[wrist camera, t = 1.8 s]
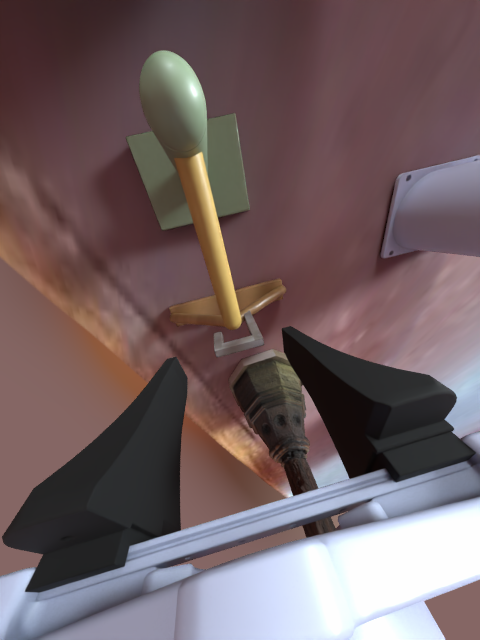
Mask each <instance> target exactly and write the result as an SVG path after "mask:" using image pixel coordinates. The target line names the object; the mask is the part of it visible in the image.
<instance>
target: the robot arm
mask: <svg viewBox="0 0 480 640" xmlns="http://www.w3.org/2000/svg"><path fill="white" fill-rule="evenodd" d="M406 178H407V180H406ZM416 250H425V251H434V252H442V253H450V254H459V255H467V256H476V257H480V155H477V156H473V157H469V158H465V159H461V160H457V161H452V162H448V163H444V164H440V165H436V166H431V167H427V168H423V169H419V170H415V171H411V172H406V173H402V174H400V175H399V176H398V177H397V179H396V182H395V187H394V192H393V197H392V202H391V207H390V211H389V216H388V221H387V226H386V231H385V236H384V241H383V246H382V251H381V257H382V258H389V257H393V256H397V255H401V254H404V253H408V252H412V251H416ZM389 253H390V254H389ZM282 336H283V346H284V353H285V355H286V357H287V359H288V361H289V363H290V365H291V367H292V368H293V370H294V371H295V373H296V374H297V376H298V378H299V379H300V381H301V382H302V384H303V385H304V387H305V388H306V390H307V391H308V393H309V395H310V397H311V398H312V400H313V402H314V404H315V406H316V408H317V410H318V412H319V414H320V416H321V418H322V420H323V422H324V424H325V426H326V428H327V430H328V432H329V434H330V436H331V438H332V440H333V443H334V445H335V447H336V449H337V451H338V453H339V456H340V458H341V460H342V462H343V464H344V467H345V469H346V471H347V473H348V476H349V478H350V479H348V480H345V481H341V482H338V483H335V484H331V485H328V486H325V487H322V488H318V489H315V490H312V491H308V492H305V493H302V494H299V495H295V496H292V497H289V498H286V499H282V500H279V501H276V502H272V503H269V504H266V505H263V506H259V507H256V508H253V509H250V510H246V511H243V512H240V513H236V514H233V515H230V516H227V517H223V518H220V519H217V520H213V521H210V522H207V523H203V524H200V525H197V526H194V527H190V528H187V529H184V530H181V526H180V525H181V524H180V452H181V434H182V425H183V419H184V412H185V405H186V398H187V376H186V374H185V372H184V370H183V368H182V367H181V365H180V363H179V361H178V359H177V357H173V358H169V359H167V360H166V361H165V362H164V363H163V365H162V366H161V367H160V369H159V370H158V371H157V373H156V374H155V375H154V377H153V378H152V379H151V381H150V382H149V383H148V384H147V386H146V387H145V388H144V389H143V391H142V392H141V393H140V394H139V395H138V397H137V398H136V399H135V400H134V401H133V402H132V404H131V405H130V406H129V407H128V408H127V409H126V410H125V411H124V412H123V413H122V414H121V415H120V416H119V417H118V418H117V419H116V420H115V421H114V422H113V423H112V424H111V425H110V426H109V427H108V428H107V429H106V430H105V431H104V432H103V433H102V434H100V436H98V437H97V438H96V439H95V440H94V441H93V442H92V443H90V444H89V445H88V446H87V447H86V448H85V449H83V450H82V451H81V452H80V453H79V454H77V455H76V456H75V457H74V458H73V459H71V460H70V461H69V462H68V463H66V464H65V465H64V466H63V467H61V468H60V469H59V470H57V471H56V472H55V473H53V474H52V475H51V476H50V477H48V478H47V479H46V480H44V481H43V482H42V483H40V484H39V485H38V486H36V487H35V488H34V489H33V490H32V492H31V493H30V495H29V497H28V498H27V500H26V501H25V503H24V504H23V506H22V507H21V509H20V510H19V512H18V513H17V515H16V516H15V518H14V519H13V521H12V523H11V524H10V526H9V527H8V529H7V530H6V532H5V533H4V535H3V536H2V539H3V542H4V544H5V545H7V546H8V547H11V548H15V549H19V550H24V551H29V552H34V553H39V554H43V556H42V558H41V560H40V562H39V565H38V567H34V568H27V569H23V570H19V571H16V572H13V573H9V574H7V575H3V576H0V640H445V638H444V636H443V634H442V633H441V631H440V629H439V627H438V626H437V624H436V622H435V620H434V619H433V617H432V615H431V614H430V612H429V610H428V608H427V607H426V605H425V603H424V601H425V600H427V599H430V598H433V597H435V596H438V595H440V594H443V593H446V592H448V591H451V590H453V589H456V588H459V587H461V586H464V585H467V584H469V583H472V582H475V581H477V580H480V431H478V432H475V433H472V434H469V435H466V436H465V437H463V438H461V439H459V438H458V437H457V436H456V435H455V434H453V433H452V432H451V431H453V430H454V428H453V426H451V425H450V424H449V423H448V422H447V421H445V420H444V419H445V418H446V416H447V415H448V414H449V412H450V411H451V410H452V408H453V407H454V405H455V403H456V399H457V397H456V394H455V393H454V392H453V391H452V390H450V389H449V388H447V387H446V386H444V385H443V384H441V383H440V382H439V381H437V380H436V379H434V378H433V377H431V376H430V375H426V374H421V373H416V372H411V371H406V370H400V369H396V368H392V367H388V366H384V365H380V364H376V363H373V362H369V361H366V360H363V359H360V358H356V357H353V356H351V355H348V354H345V353H343V352H340V351H338V350H335V349H333V348H331V347H328V346H326V345H324V344H322V343H320V342H318V341H316V340H314V339H312V338H310V337H309V336H307V335H305V334H303V333H302V332H300V331H298V330H296V329H295V328H293V327H291V326H289V327H286V328H282ZM347 511H348V512H347ZM344 512H346V513H344ZM340 513H344V514H342V515H340V516H338V522H339V524H340V525H339V526H338V527H337V528H336V529H335V531H333V532H329V533H324V534H320V535H316V536H312V537H308V538H304V539H300V540H296V541H292V542H288V543H285V544H281V545H278V546H275V547H271V548H268V549H265V550H261V551H258V552H255V553H252V554H248V555H245V556H242V557H240V558H237V559H234V560H231V561H228V562H225V563H222V564H220V565H217V566H214V567H212V568H209V569H207V570H206V569H198V568H195V567H193V566H192V564H186V565H179V566H174V565H177V564H181V563H184V562H187V561H190V560H193V559H196V558H200V557H203V556H206V555H209V554H213V553H215V552H219V551H222V550H225V549H228V548H232V547H235V546H238V545H241V544H245V543H248V542H251V541H254V540H257V539H261V538H264V537H267V536H270V535H273V534H277V533H280V532H283V531H286V530H289V529H293V528H295V527H299V526H302V525H305V524H309V523H312V522H315V521H318V520H322V519H325V518H328V517H331V516H334V515H337V514H340ZM171 566H174V567H171Z"/></svg>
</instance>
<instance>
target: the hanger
mask: <svg viewBox="0 0 480 640" xmlns="http://www.w3.org/2000/svg"><path fill="white" fill-rule="evenodd" d="M285 293H286V288H285V287H284V286H282V280H281V279H275V280H271V281H267V282H263V283H259V284H255V285H252V286H248V287H244V288H240V289H236V290H235V294H236V298H237V302H238V307H239V310H240V315H241V319H242V322H244V321H246V324H247V327H248V329H249V332H250V334H251V336H248V337H244V338H240V339H237V340H233V341H229V342H225V343H224V339H223V335H222V332H217V333H214V351H215V354H216V357H221V356H225V355H228V354H232V353H236V352H240V351H243V350H247V349H251V348H254V347H258V346H262V345H264V340H263V337H262V335H261V333H260V331H259V329H258V326H257V324H256V322H255V320H254V318H253V315H254V314H256V313H257V312H258V311H260V310H261V309H263V308H264V307H266V306H267V305H269V304H270V303H272V302H274V301H277V300H281V299H283V294H285ZM169 310H170V312H171V315H170V321H171V322H172V323H176V325H177V326H182V325H186V324H195V325H208V326H220V327H225V325H224V323H223V320H222V316H221V313H220V310H219V306H218V303H217V300H216V296H215V295H213V296H209V297H205V298H201V299H197V300H193V301H189V302H185V303H181V304H177V305H174V306H170V308H169Z"/></svg>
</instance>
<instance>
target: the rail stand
mask: <svg viewBox="0 0 480 640" xmlns="http://www.w3.org/2000/svg"><path fill="white" fill-rule="evenodd" d="M139 92H140V100H141V105H142V109H143V112H144V115H145V117H146V120H147V122H148V124H149V126H150V128H151V129H152V131H150V132H145V133H141V134H136V135H132V136H127V137H126V140H127V143H128V145H129V148H130V150H131V153H132V156H133V158H134V161H135V163H136V166H137V168H138V171H139V173H140V176H141V179H142V181H143V184H144V186H145V189H146V191H147V194H148V196H149V199H150V202H151V204H152V207H153V209H154V212H155V214H156V217H157V219H158V222H159V225H160V227H161V230H162V231H164V230H169V229H173V228H177V227H181V226H186V225H190V224H194V227H195V230H196V233H197V237H198V240H199V243H200V247H201V250H202V253H203V256H204V260H205V263H206V266H207V270H208V273H209V276H210V280H211V283H212V286H213V290H214V293H215V296H216V300H217V303H218V306H219V310H220V313H221V316H222V320H223V323H224V325H225V327H226V328H227V329H229V330H236V329H238V328H239V327H240V325H241V323H242V319H241V315H240V311H239V307H238V302H237V298H236V294H235V290H234V285H233V281H232V277H231V272H230V268H229V264H228V260H227V255H226V251H225V247H224V243H223V238H222V234H221V230H220V226H219V221H218V218H219V217H223V216H227V215H231V214H236V213H240V212H244V211H248V210H249V209H250V208H249V201H248V195H247V188H246V181H245V175H244V168H243V161H242V154H241V148H240V141H239V134H238V128H237V121H236V115H235V113H233V114H228V115H224V116H219V117H215V118H210V119H207V109H206V102H205V97H204V93H203V90H202V87H201V84H200V82H199V80H198V78H197V76H196V74H195V73H194V71H193V70H192V68H191V67H190V66H189V65H188V63H187V62H186V61H185V60H184V59H183V58H181V57H180V56H178V55H177V54H175V53H173V52H170V51H158V52H155V53H153V54H152V55H151V56H150V57H149V58H148V59H147V60H146V62H145V64H144V65H143V68H142V71H141V75H140V83H139Z"/></svg>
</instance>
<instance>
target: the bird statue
mask: <svg viewBox="0 0 480 640" xmlns="http://www.w3.org/2000/svg"><path fill="white" fill-rule="evenodd" d="M228 380H229V387H230V389H231V391H232V393H233V396H234V398H235V400H236V402H237V404H238V406H240V408H241V410H242V411H243V412H244V415H245V418H246V420H247V422H248V424H249V427H250V428H253V430H254V433H255V434H259V436H260V437H261V438H262V440H263V441H264V443H265V444H266V445H267V447H268V448H269V455H270V457H271V458H272V459H273V460H274V461H275V462H277V463H280V464H281V466H282V467H284V469H285V472H286V475H287V478H288V481H289V484H290V487H291V491H292V493H293V496H295V495H299V494H302V493H305V492H308V491H312V490H315V489H318V486H317V484H316V481H315V479H314V477H313V474H312V472H311V470H310V467H309V465H308V463H307V461H306V458H307V455H306V454H307V453H308V452H309V446H310V442H309V440H308V439H307V438H306V437H305V429H304V418H305V417H306V413H305V410H306V406H305V399H304V394H302V387H301V386H302V385H303V384H302V382H301V381H300V379H299V378H298V376H297V374H296V373H295V371H294V370H293V368H292V367H291V365H290V363H289V361H288V359H287V357H286V355H285V354H284V353H282V352H279V351H276V350H274V349H271V350H268V351H265V352H262V353H259V354H256V355H253V356H250V357H247V358H244V359H241V361H240V362H239V364H238V365H237V367H236V368H235V370H234V371H233V373H232V375H231V376H230V378H229V379H228ZM302 526H303V528H304V531H305V534H306V537H307V538H308V537H312V536H316V535H320V534H324V533H329V532H333V531H335V529H336V528H335V526H334V524H333V521H332V519H331V517H328V518H325V519H322V520H318V521H315V522H312V523H309V524H305V525H302Z"/></svg>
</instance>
